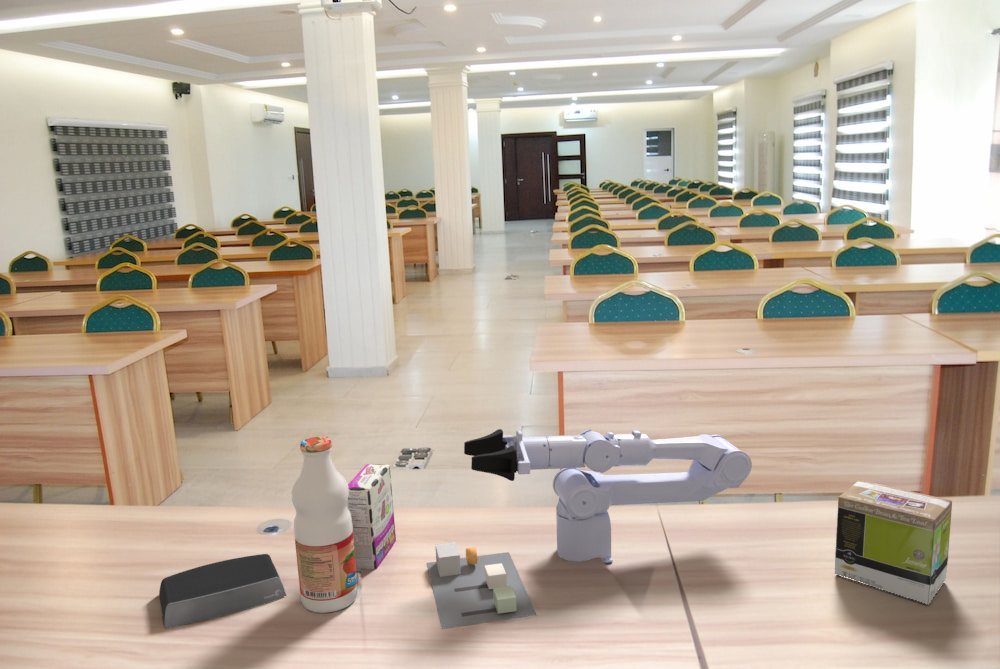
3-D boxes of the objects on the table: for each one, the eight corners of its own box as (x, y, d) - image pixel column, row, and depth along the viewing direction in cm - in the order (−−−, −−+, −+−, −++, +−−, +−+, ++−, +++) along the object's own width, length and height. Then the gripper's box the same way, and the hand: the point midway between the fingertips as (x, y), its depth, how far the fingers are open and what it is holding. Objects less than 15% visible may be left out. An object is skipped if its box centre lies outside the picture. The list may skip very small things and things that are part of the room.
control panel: (508, 557, 147) (508, 533, 146) (537, 620, 127) (536, 594, 126) (426, 567, 144) (425, 544, 143) (442, 634, 124) (440, 607, 123)
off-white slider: (502, 576, 138) (501, 563, 137) (506, 586, 134) (506, 573, 134) (485, 578, 137) (484, 565, 137) (488, 589, 134) (488, 576, 133)
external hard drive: (288, 601, 136) (285, 579, 135) (164, 633, 128) (161, 610, 127) (273, 567, 147) (271, 546, 147) (159, 594, 139) (156, 573, 138)
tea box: (946, 582, 134) (955, 499, 131) (928, 607, 127) (936, 520, 123) (853, 554, 144) (859, 476, 141) (832, 576, 137) (837, 495, 134)
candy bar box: (372, 543, 154) (366, 462, 150) (397, 545, 153) (391, 463, 149) (350, 573, 143) (342, 486, 140) (376, 575, 142) (370, 488, 139)
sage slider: (511, 599, 131) (511, 585, 130) (516, 611, 127) (516, 597, 127) (493, 601, 130) (492, 588, 130) (497, 613, 127) (497, 599, 126)
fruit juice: (296, 592, 138) (280, 437, 131) (350, 579, 141) (337, 427, 135) (307, 620, 129) (291, 455, 123) (364, 605, 133) (352, 444, 127)
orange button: (474, 558, 144) (474, 544, 143) (477, 566, 141) (477, 551, 141) (466, 560, 144) (465, 545, 143) (468, 567, 141) (468, 553, 140)
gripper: (535, 418, 147) (462, 420, 144) (557, 444, 133) (476, 447, 130) (534, 455, 148) (461, 458, 146) (555, 484, 134) (474, 488, 132)
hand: (468, 455), depth 138 cm, fingers open, 7 cm apart
